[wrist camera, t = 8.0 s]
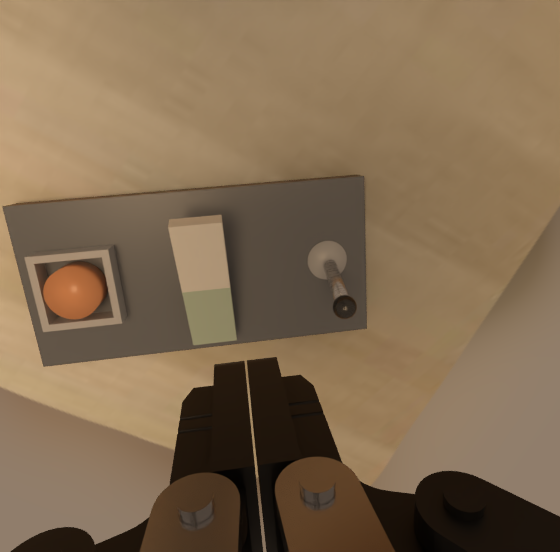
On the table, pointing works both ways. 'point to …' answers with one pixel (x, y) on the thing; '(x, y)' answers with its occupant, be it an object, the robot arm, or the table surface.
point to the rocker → (204, 277)
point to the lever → (339, 291)
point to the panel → (163, 272)
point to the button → (75, 290)
